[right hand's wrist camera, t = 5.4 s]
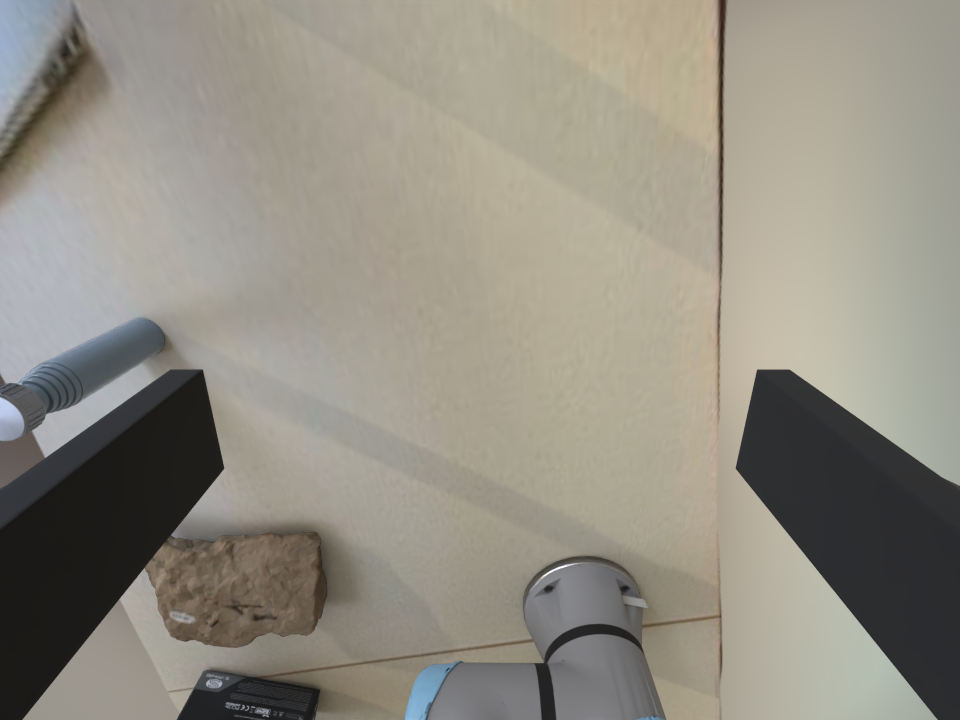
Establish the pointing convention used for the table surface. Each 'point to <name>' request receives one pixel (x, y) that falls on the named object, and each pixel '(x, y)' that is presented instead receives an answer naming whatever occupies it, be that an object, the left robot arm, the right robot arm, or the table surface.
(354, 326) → the table surface
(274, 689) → the graphics card box
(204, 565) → the stone
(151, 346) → the bottle
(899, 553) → the right robot arm
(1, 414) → the cap
